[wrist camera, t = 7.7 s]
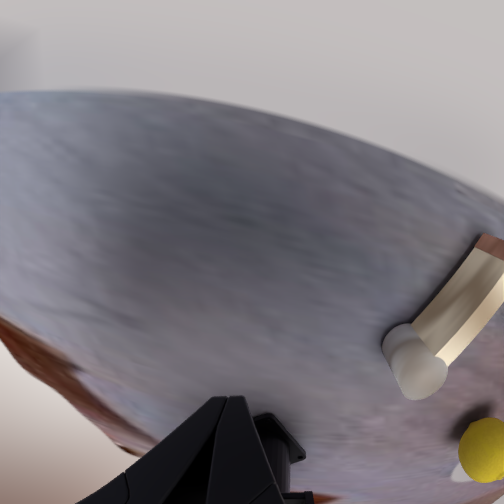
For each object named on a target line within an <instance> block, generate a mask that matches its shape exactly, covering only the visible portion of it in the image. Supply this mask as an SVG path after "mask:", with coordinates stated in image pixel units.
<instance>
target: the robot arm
mask: <svg viewBox="0 0 504 504" xmlns="http://www.w3.org/2000/svg"><path fill="white" fill-rule="evenodd" d="M267 419H269V420H267ZM305 458H306V453H305V451H304V450H303V449H302V448H301V447H300V446H299V445H298V443H297V442H296V441H295V440H294V439H293V438H292V437H291V435H290V434H289V433H288V432H287V431H286V430H285V428H284V427H283V426H282V425H281V424H280V422H279V421H278V420H277V419H276V418H275V416H274V415H272V414H264V415H262V416H259V417H256V418H253V419H252V416H251V413H250V410H249V407H248V405H247V402H246V399H245V397H244V396H242V395H241V396H230V397H227V396H214V397H211V398H210V399H209V400H208V401H207V402H206V403H205V404H203V405H202V406H201V407H200V408H199V409H198V410H197V411H196V412H195V413H193V414H192V415H191V416H190V417H189V418H188V419H187V420H185V421H184V422H183V423H182V424H181V425H180V426H179V427H177V428H176V429H175V430H174V431H173V432H172V433H170V434H169V435H168V436H167V437H166V438H165V439H163V440H162V441H161V442H160V443H159V444H157V445H156V446H155V447H154V448H153V449H151V450H150V451H149V452H148V453H146V454H145V455H144V456H143V457H141V458H140V459H139V460H138V461H136V462H135V463H134V464H133V465H131V466H130V467H129V468H128V469H126V470H125V473H124V472H122V473H121V474H120V475H119V476H117V477H116V478H114V479H113V480H112V481H110V482H109V483H108V484H106V485H105V486H103V487H102V488H100V489H99V490H97V491H96V492H94V493H93V494H91V495H89V496H88V497H86V498H84V499H83V500H81V501H79V502H77V503H75V504H314V499H313V493H312V491H304V492H302V493H290V464H292V463H295V462H298V461H302V460H304V459H305Z"/></svg>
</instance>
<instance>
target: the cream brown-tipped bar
mask: <svg viewBox="0 0 504 504" xmlns="http://www.w3.org/2000/svg"><path fill="white" fill-rule="evenodd" d="M503 302H504V240H501V239H499V238H496V237H493V236H491V235H488V234H485V233H483V235H482V236H481V237H480V239H479V240H478V242H477V243H476V244H475V246H474V249H473V250H472V252H471V253H470V254H469V256H468V257H467V258H466V260H465V261H464V262H463V264H462V265H461V266H460V267H459V269H458V270H457V271H456V273H455V274H454V275H453V276H452V278H451V279H450V280H449V281H448V283H447V284H446V285H445V286H444V287H443V289H442V290H441V291H440V292H439V293H438V295H437V296H436V297H435V298H434V299H433V300H432V302H431V303H430V304H429V305H428V306H427V307H426V308H425V309H424V311H423V312H422V313H421V314H420V315H419V316H418V317H417V318H416V319H415V320H414V322H413V323H412V324H401V325H399V326H396V327H395V328H393V329H392V330H391V331H390V332H389V333H388V334H387V335H386V337H385V338H384V341H383V344H382V352H383V354H384V356H385V358H386V360H387V362H388V364H389V366H390V368H391V370H392V372H393V374H394V376H395V378H396V380H397V382H398V384H399V386H400V388H401V391H402V393H403V395H404V396H405V397H406V398H408V399H410V400H420V399H424V398H426V397H428V396H430V395H432V394H433V393H435V392H436V391H437V390H438V389H439V388H440V387H441V386H442V384H443V383H444V381H445V379H446V377H447V373H448V368H447V367H448V366H449V365H450V364H451V363H452V362H453V361H454V360H455V358H456V357H457V356H458V355H459V354H460V353H461V352H462V351H463V350H464V349H465V348H466V347H467V345H468V344H469V343H470V342H471V341H472V340H473V339H474V338H475V336H476V335H477V334H478V333H479V332H480V331H481V329H482V328H483V327H484V326H485V325H486V323H487V322H488V321H489V320H490V318H491V317H492V316H493V315H494V313H495V312H496V311H497V310H498V308H499V307H500V306H501V304H502V303H503Z"/></svg>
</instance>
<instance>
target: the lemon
mask: <svg viewBox="0 0 504 504" xmlns="http://www.w3.org/2000/svg"><path fill="white" fill-rule="evenodd" d="M458 454H459V460H460V463H461V465H462V467H463V469H464V471H465V472H466V473H467V474H468V476H469V477H471V478H472V479H473V480H475V481H477V482H481V483H487V482H492V481H495V480H501V479H502V478H504V422H502V421H501V420H499V419H497V418H489V417H488V418H483V419H480V420H478V421H474V422H471V423H470V425H469V427H468V429H467V430H466V431H465V432H464V434H463V436H462V438H461V440H460V443H459V449H458Z"/></svg>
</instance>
